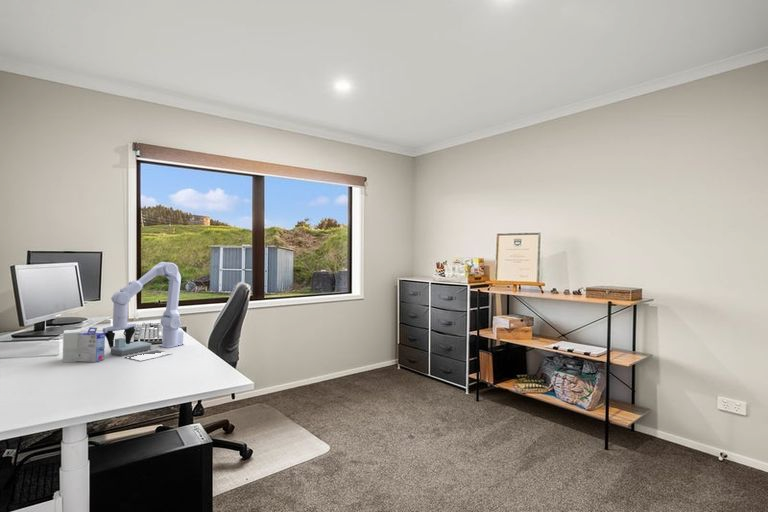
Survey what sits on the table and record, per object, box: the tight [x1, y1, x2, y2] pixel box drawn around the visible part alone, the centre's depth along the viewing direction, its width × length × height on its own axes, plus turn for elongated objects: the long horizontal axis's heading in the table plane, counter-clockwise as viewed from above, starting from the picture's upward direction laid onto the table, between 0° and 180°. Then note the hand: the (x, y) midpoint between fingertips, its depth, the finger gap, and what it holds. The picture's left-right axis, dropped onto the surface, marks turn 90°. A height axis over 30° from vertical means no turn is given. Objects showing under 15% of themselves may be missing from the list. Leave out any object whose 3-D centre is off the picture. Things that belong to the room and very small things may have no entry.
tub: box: [110, 345, 152, 357], centre depth 199 cm, size 14×9×2 cm, turn 153°
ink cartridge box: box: [75, 327, 106, 363], centre depth 182 cm, size 10×6×14 cm, turn 87°
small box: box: [62, 328, 82, 364], centre depth 182 cm, size 8×6×13 cm
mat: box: [124, 349, 165, 359], centre depth 192 cm, size 16×12×1 cm
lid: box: [109, 337, 153, 351], centre depth 199 cm, size 15×10×5 cm, turn 153°
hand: (119, 345), depth 194 cm, fingers open, 7 cm apart
